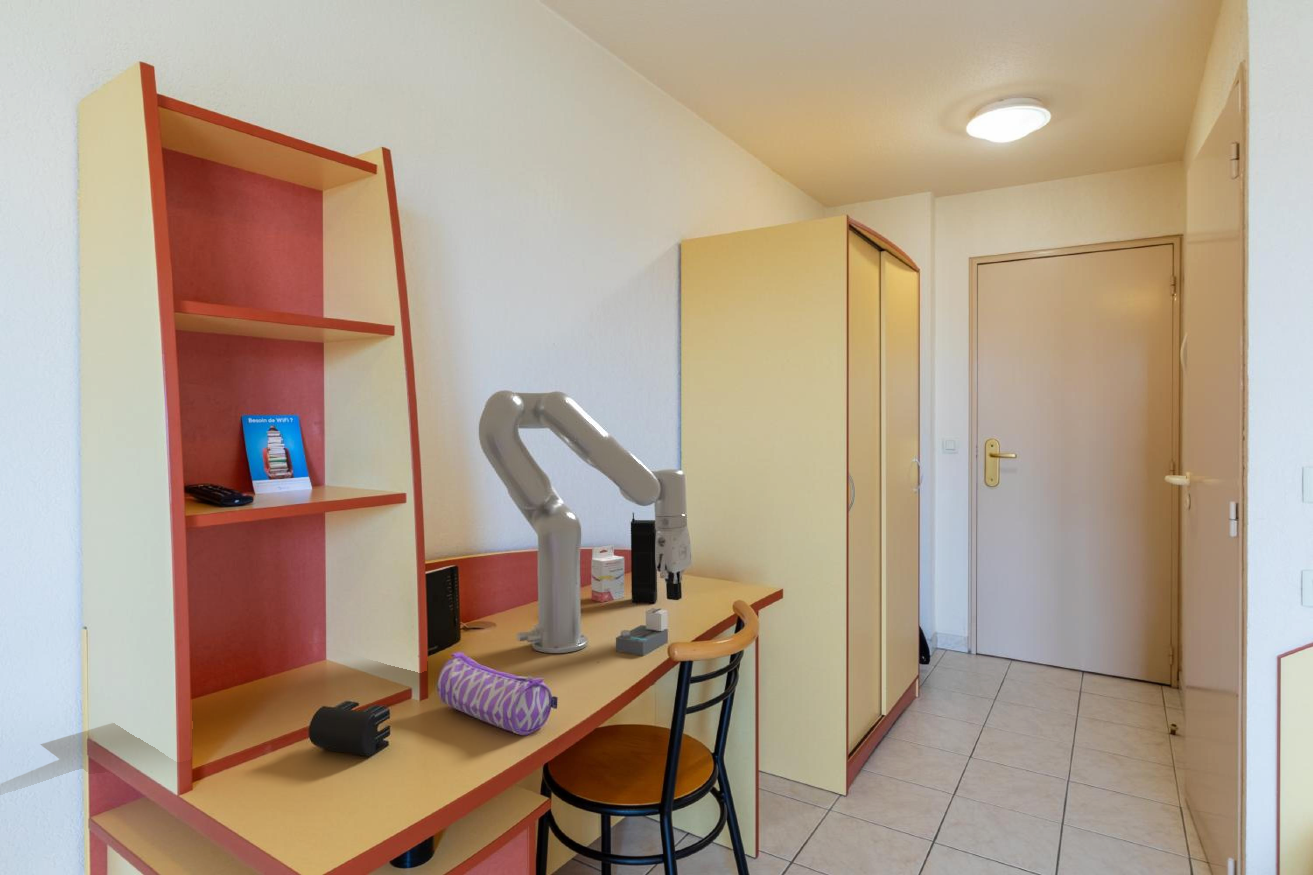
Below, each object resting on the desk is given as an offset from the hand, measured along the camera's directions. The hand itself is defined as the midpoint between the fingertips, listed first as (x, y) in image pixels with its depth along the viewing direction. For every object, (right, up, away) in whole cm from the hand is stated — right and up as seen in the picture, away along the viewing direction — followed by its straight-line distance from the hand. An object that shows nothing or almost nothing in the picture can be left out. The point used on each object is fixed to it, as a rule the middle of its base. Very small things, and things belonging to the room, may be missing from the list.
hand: (674, 598), depth 171 cm
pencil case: (-32, -11, -47) cm, 58 cm away
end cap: (-52, -11, -58) cm, 79 cm away
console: (-7, -9, -9) cm, 14 cm away
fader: (-4, -5, -6) cm, 9 cm away
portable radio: (-7, -8, +31) cm, 33 cm away
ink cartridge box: (-18, -8, +35) cm, 40 cm away
